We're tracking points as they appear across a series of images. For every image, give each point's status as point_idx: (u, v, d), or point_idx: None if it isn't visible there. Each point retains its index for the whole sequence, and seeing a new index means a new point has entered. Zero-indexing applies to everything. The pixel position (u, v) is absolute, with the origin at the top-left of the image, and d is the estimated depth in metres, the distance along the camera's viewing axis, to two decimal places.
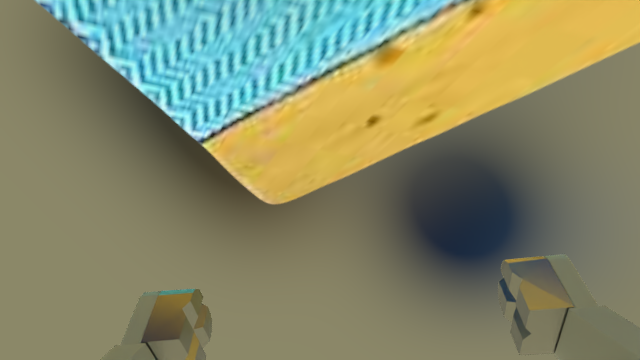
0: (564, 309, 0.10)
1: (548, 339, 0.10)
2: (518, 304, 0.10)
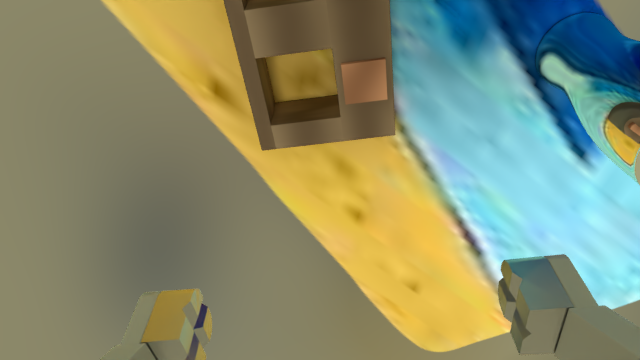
0: (564, 309, 0.10)
1: (548, 339, 0.10)
2: (518, 304, 0.10)
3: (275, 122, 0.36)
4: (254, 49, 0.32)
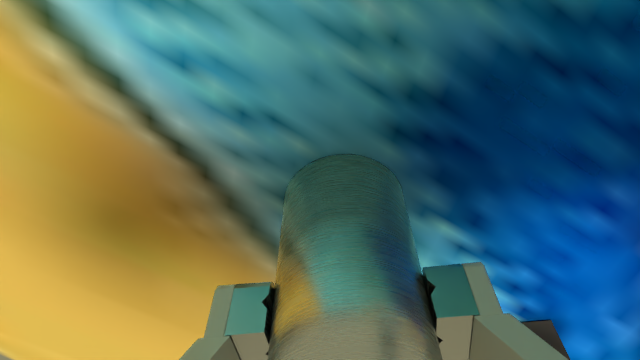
0: (471, 317, 0.10)
1: (460, 346, 0.11)
2: (431, 311, 0.11)
3: None
4: None
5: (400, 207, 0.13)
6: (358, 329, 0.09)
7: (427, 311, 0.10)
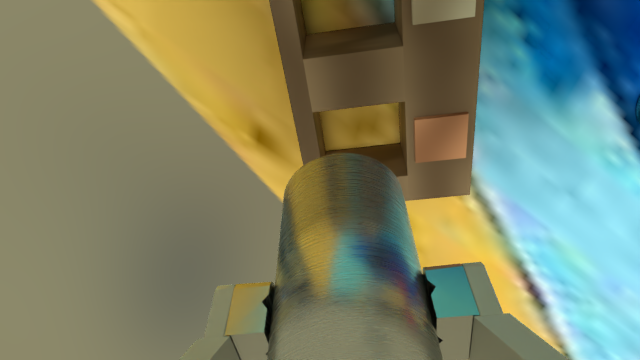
0: (471, 317, 0.10)
1: (460, 346, 0.11)
2: (431, 311, 0.11)
3: None
4: (312, 102, 0.27)
5: (400, 206, 0.13)
6: (357, 329, 0.09)
7: (427, 310, 0.10)
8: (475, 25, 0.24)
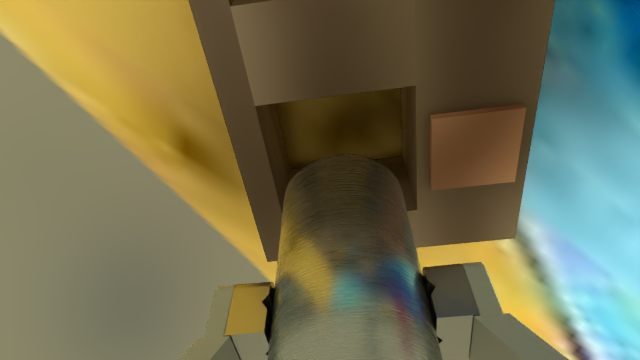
0: (471, 317, 0.10)
1: (460, 346, 0.11)
2: (431, 311, 0.11)
3: None
4: (253, 88, 0.15)
5: (400, 207, 0.13)
6: (358, 331, 0.09)
7: (427, 312, 0.10)
8: None
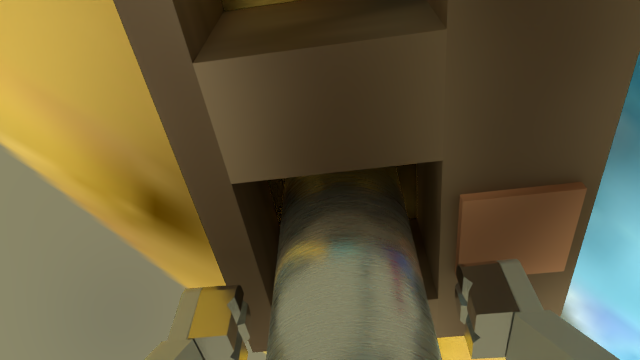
0: (510, 313, 0.10)
1: (498, 343, 0.10)
2: (468, 308, 0.11)
3: None
4: (228, 163, 0.12)
5: (391, 167, 0.14)
6: (351, 255, 0.10)
7: (412, 248, 0.12)
8: None
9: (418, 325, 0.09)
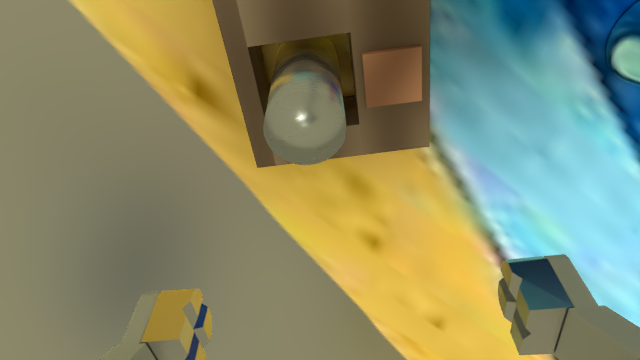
0: (564, 309, 0.10)
1: (548, 339, 0.10)
2: (518, 304, 0.10)
3: None
4: (246, 34, 0.24)
5: (332, 51, 0.27)
6: (304, 69, 0.22)
7: (337, 77, 0.24)
8: None
9: (331, 91, 0.21)
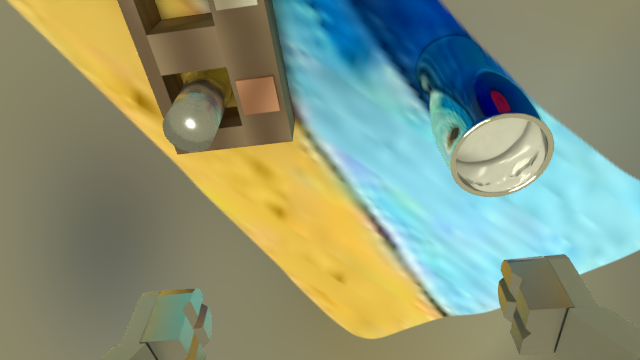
0: (564, 309, 0.10)
1: (548, 339, 0.10)
2: (518, 304, 0.10)
3: None
4: (159, 67, 0.37)
5: (223, 76, 0.40)
6: (192, 91, 0.36)
7: (218, 95, 0.37)
8: (261, 11, 0.34)
9: (205, 106, 0.35)
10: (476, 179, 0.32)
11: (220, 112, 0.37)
